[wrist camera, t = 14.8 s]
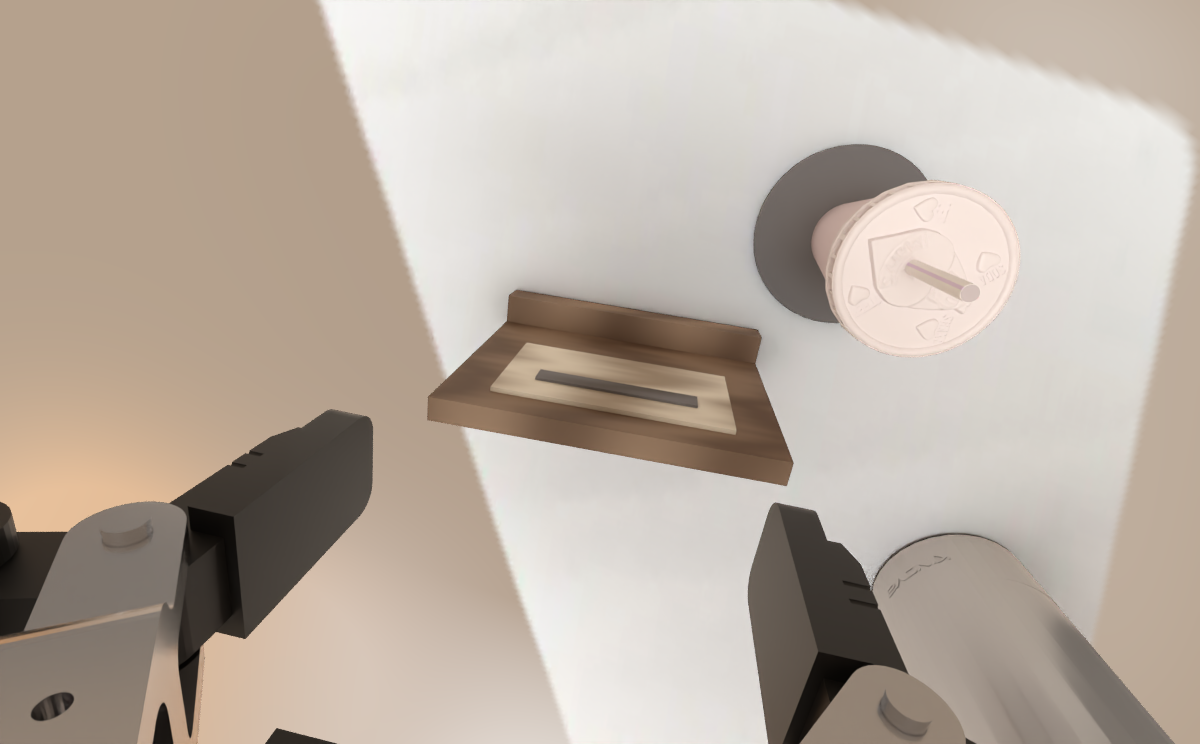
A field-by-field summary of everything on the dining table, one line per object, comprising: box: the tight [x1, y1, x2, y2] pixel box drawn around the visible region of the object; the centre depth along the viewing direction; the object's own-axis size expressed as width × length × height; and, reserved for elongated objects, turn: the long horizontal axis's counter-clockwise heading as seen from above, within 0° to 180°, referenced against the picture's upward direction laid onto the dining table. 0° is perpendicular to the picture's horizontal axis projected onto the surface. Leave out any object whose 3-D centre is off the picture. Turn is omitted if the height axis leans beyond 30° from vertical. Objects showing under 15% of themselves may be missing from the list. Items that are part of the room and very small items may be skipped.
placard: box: [427, 290, 793, 486], centre depth 27 cm, size 14×4×12 cm, turn 82°
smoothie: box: [811, 180, 1020, 357], centre depth 23 cm, size 6×6×14 cm
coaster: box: [754, 145, 927, 323], centre depth 30 cm, size 9×9×1 cm
